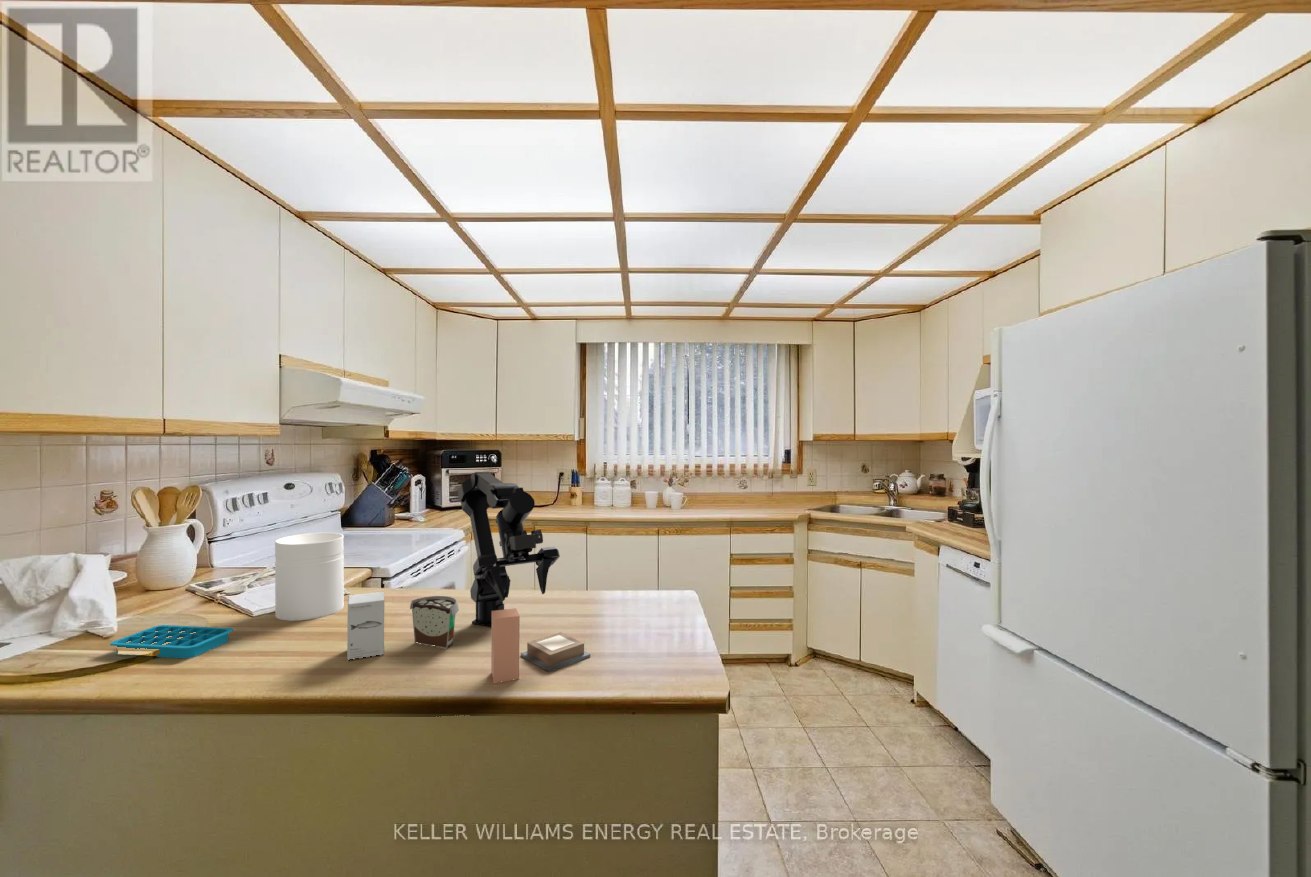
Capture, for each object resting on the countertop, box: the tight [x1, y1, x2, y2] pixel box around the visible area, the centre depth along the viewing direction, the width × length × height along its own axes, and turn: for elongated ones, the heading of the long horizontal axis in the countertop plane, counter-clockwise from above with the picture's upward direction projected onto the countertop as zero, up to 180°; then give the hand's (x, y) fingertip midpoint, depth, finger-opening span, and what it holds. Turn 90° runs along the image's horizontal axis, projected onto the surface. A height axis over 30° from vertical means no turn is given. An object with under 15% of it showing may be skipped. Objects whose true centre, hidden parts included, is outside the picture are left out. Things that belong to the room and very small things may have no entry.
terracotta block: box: [490, 607, 521, 684], centre depth 112 cm, size 5×5×13 cm
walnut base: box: [520, 631, 591, 673], centre depth 122 cm, size 11×11×3 cm
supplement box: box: [346, 591, 385, 661], centre depth 122 cm, size 7×7×13 cm
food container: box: [409, 595, 460, 650], centre depth 129 cm, size 12×6×10 cm, turn 71°
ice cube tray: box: [109, 624, 234, 659], centre depth 124 cm, size 12×20×3 cm, turn 85°
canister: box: [274, 532, 345, 622], centre depth 150 cm, size 16×16×20 cm
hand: (524, 596), depth 121 cm, fingers open, 9 cm apart
